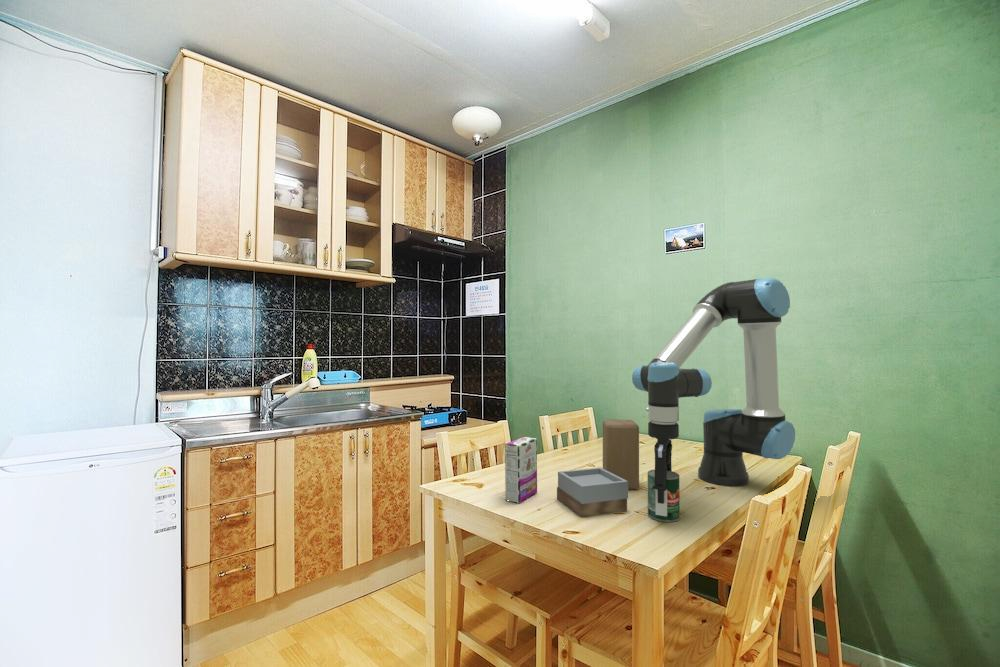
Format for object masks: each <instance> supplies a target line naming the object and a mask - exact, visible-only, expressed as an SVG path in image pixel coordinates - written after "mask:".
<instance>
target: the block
mask: <svg viewBox="0 0 1000 667" xmlns="http://www.w3.org/2000/svg"><path fill="white" fill-rule="evenodd" d="M602 468H603V469H605V470H607V471H609V472H611V473H613V474H615V475H617V476H619V477H621V478H623V479H625V480H627V481H628V490H638V489H639V488H640V426H639V425H638V424H637V423H636V422H635V421H634V420H632V419H616V418H615V419H607V418H606V419H603V420H602Z"/></svg>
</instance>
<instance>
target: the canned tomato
mask: <svg viewBox="0 0 1000 667" xmlns="http://www.w3.org/2000/svg"><path fill="white" fill-rule="evenodd" d="M654 484H655V469H651V470H649V471H647V515H648V517H649V518H651V519H652V520H655V521H658V522H664V523H674V522H677V521H679V520H680V519H681V518H680V517H681V516H680V515H681V514H680V512H681V510H680V507H681V506H680V499H681V498H680V474H679V473H678V472H676V471H667V481H666V487H667V516H661V515H656V495H655V489H652V486H654ZM660 485H662V484H660Z"/></svg>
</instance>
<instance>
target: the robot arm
mask: <svg viewBox="0 0 1000 667" xmlns="http://www.w3.org/2000/svg"><path fill="white" fill-rule="evenodd" d="M790 308H791V299H790V293H789V291H788V289H787V288H786V286H785V285H784V283H783V282H782V281H781V280H779V279H776V278H774V277H773V278H772V277H770V278H768V277H767V278H756V279H750V280H748V279H747V280H740V281H731V282H726V283H723V284H721V285H719V286H716V287H714V289H712V290H711V291H709V292H708V293H707V294H705V295H704V296H703V297H702V298H701V299H700V300H699V301H698V302H697V303H696V304H695V306H694V307H693V309H692V313H691V315H690V316H689V317H688V318H687V319H686V320H685V322H683V324H682V325H681V326H680V328H679V329H678V330H677V331H676V332H675V333H674V335H672V336H671V338H670V339H669V340H668V341H667V343H665V345H664V346H663V347H662V348H661V350H660V351H659V352H658V353H657V354H656V355H655V356H654V358H652V360H651V361H650V362H649V363H648V364H647V365H639V366H637V367H636V368H635V369H634V370H633V371H632V374H631V381H632V384H633V386H634V388H635V389H637V390H640V391H641V392H642V391H643V392H646V393H647V394H648V402H647V403H648V404H647V405H648V407H646V409H645V412H648V413H647V414H648V416H647V417H648V418H647V419H648V420H649V421H648V423H647V425H648V426H647V427H648V428H647V429H648V430H647V433H648V434H647V435H648V436H649V437H651V438H653V439H654V438H655V439H657V441H656V442H655V444H654V447H653V448H654V470H655V484H654V486H652V489H655V495H656V515H661V516H667V487H666V481H667V471H672V469H673V468H672V455H673V454H672V450H673V444H672V442H673V441H672V440H676V439H678V438H679V436H680V435H679V434H680V430H679V428H680V426H679V423H678V422H679V420H680V406H679V402H680V401H679V399H680V398H694V397H695V398H699V397H701V396H705V395H707V394H708V393H709V392H710V391H711V390H712V378H711V376H710V374H709V372H707V371H706V370H704V369H701V368H682V366H683V365H684V363H685V362H686V361H687V360H688V359H689V357H690V356H691V355H692V354H693V353H694V352H695V350H696V349H697V348H698V347H699V345H700V344H701V343H702V342H703V340H704V339H705V338H706V337H707V335H709V334H710V332H711V331H712V330H713V329H714V328H718V327H719V326H721V324H722V323H723V322H724V321H725V322H726V321H727V320H732V319H736V320H737V325H738V326H739V327H740V328H742V330H743V352H744V353H743V354H744V355H743V356H744V371H745V372H744V373H745V374H744V375H745V376H744V377H745V397H746V398H745V399H746V400H745V401H746V406H745V407H744V408H743V409H740V408H722V409H709V410H706V411H705V412H704V414H703V422H702V424H703V455H702V458H701V461H700V466H699V467H698V469H697V471H698V472H697V477H698V478H699V479H700V480H702V481H704V482H707V483H711V484H716V485H722V486H730V487H732V486H733V487H738V486H739V487H740V486H746V485H748V484H749V482H750V475H749V473H748V471H747V467H746V464H745V461H744V457H743V455H744V454H745V453H746V454H749V455H753V456H758V457H760V458H761V457H762V458H764V459H772V460H782V459H784V458H786V457H787V456H788V455H789V454H790V452H791V451H792V449H793V448H794V444H795V440H796V430H795V427H794V424H792V422H790V421H788V420H786V412H784V411H783V410H782V409H781V408H780V402H779V400H780V399H779V397H780V396H779V377H778V371H779V370H778V352H777V351H778V349H777V327H778V326H779V325H781V323H782V318H783V317H784V316H786V315H787V314H788V313H789V311H790V310H789V309H790ZM743 453H744V454H743ZM672 472H673V471H672ZM660 484H662V485H660Z"/></svg>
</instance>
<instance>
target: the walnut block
mask: <svg viewBox="0 0 1000 667" xmlns="http://www.w3.org/2000/svg"><path fill="white" fill-rule="evenodd" d="M556 500H557V501H558V500H559V501H558V502H560V503H561V504H562V505H563V504H564V505H563V506H565V507H566V508H567V507H568V508H567V509H568V510H570V511H571V512H573V514H575V515H576V516H578V517H579V518H588V517H593V516H594V517H596V516H603V515H608V514H610V513H611V514H617V512H618V513H624V512H627V511H628V498H626V499H618V500H610V501H602V502H594V503H586V504H581V503H580V502H578V501H577V500H575V499H574V498H573V497H571V496H570V495H568V494H567V493H565V492H564V491H562V490H561V489H560V488H558V486H557V487H556ZM611 514H610V515H611Z"/></svg>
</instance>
